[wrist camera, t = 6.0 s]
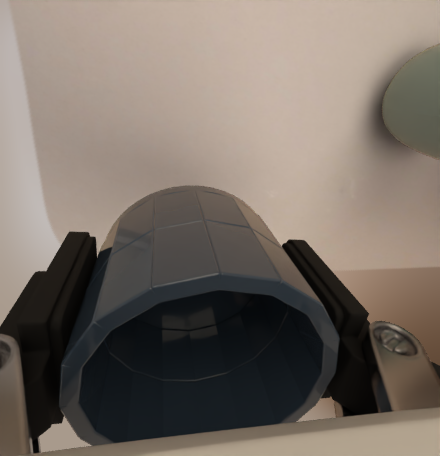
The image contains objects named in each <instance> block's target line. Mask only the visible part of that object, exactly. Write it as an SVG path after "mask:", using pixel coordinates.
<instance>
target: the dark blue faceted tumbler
mask: <svg viewBox="0 0 440 456" xmlns="http://www.w3.org/2000/svg"><path fill="white" fill-rule="evenodd" d="M339 342H340V338H339V334H338V332H337V330H336V328H335V326H334V325H333V323H332V321H331V319H330V317H329V315H328V313H327V311H326V309H325V307H324V305H323V304H322V302H321V301H320V300H319V298H318V297H317V295H316V294H315V293H314V291H313V290H312V288H311V287H310V286H309V284H308V283H307V281H306V280H305V279H304V277H303V276H302V274H301V273H300V272H299V270H298V269H297V267H296V266H295V265H294V263H293V262H292V260H291V259H290V258H289V256H288V255H287V253H286V252H285V251H284V249H283V248H282V246H281V245H280V244H279V242H278V241H277V239H276V238H275V237H274V235H273V234H272V232H271V231H270V230H269V228H268V227H267V225H266V224H265V223H264V221H263V220H262V218H261V217H260V216H259V215H257V214H256V213H255V212H254V210H253V209H252V208H251V207H250V206H248V205H247V204H246V203H245V202H244V201H242V200H241V199H239V198H237V197H236V196H234V195H232V194H229V193H227V192H225V191H222V190H219V189H215V188H211V187H204V186H179V187H172V188H168V189H164V190H160V191H158V192H155V193H153V194H150V195H148V196H146V197H144V198H142V199H141V200H139V201H137V202H136V203H134V204H133V205H132V206H130V207H129V208H128V209H127V210H126V211H125V212H124V213H123V214H122V215H120V217H119V218H118V219H117V220H116V222H115V223H114V224H113V226H112V227H111V229H110V231H109V233H108V235H107V237H106V240H105V242H104V243H103V245H102V246H101V249H100V252H99V255H98V258H97V260H96V263H95V266H94V269H93V272H92V275H91V278H90V281H89V284H88V287H87V290H86V293H85V296H84V299H83V301H82V304H81V307H80V310H79V313H78V316H77V319H76V322H75V325H74V328H73V331H72V334H71V337H70V339H69V342H68V345H67V348H66V351H65V354H64V357H63V360H62V363H61V368H60V383H59V398H58V405H59V408H60V410H61V412H62V413H63V415H64V416H65V418H66V419H67V421H68V422H69V424H70V425H71V427H72V428H73V430H74V431H75V433H76V434H77V436H78V437H79V438H80V439H81V440H83V441H85V442H87V443H88V444H90V445H92V446H96V445H104V444H112V443H121V442H129V441H138V440H146V439H154V438H163V437H171V436H179V435H188V434H196V433H205V432H214V431H222V430H231V429H240V428H249V427H257V426H266V425H275V424H284V423H293V422H296V421H298V420H299V419H300V418H301V417H302V416H303V415H305V414H306V413H307V412H308V411H309V410H310V409H312V408H313V407H314V406H315V405H316V404H317V403H318V401H319V400H320V398H321V396H322V395H323V393H324V391H325V390H326V388H327V387H328V385H329V383H330V382H331V380H332V379H333V377H334V375H335V373H336V370H337V361H338V351H339Z"/></svg>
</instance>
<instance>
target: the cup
mask: <svg viewBox="0 0 440 456" xmlns="http://www.w3.org/2000/svg"><path fill="white" fill-rule="evenodd" d="M382 117H383V121H384V123H385V125H386V127H387V129H388V131H389V132H390V133H391V135H392V136H393V137H394V138H396V139H397V140H398V141H399V142H400V143H402V144H403V145H405V146H407V147H409V148H411V149H413V150H415V151H417V152H419V153H421V154H424V155H426V156H429V157H432V158H434V159H437V160H440V44H437V45H435V46H432V47H430V48H428V49H426V50H424V51H423V52H421V53H419V54H417V55H416V56H414V57H413V58H412V59H411V60H409V61H408V62H407V63H406V64H405V65H404V66H403V67H402V68H401V69H400V70H399V71H398V72H397V73H396V75H395V76H394V77H393V79H392V80H391V82H390V84H389V86H388V87H387V89H386V92H385V94H384V97H383V102H382Z"/></svg>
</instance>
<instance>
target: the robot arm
mask: <svg viewBox="0 0 440 456" xmlns="http://www.w3.org/2000/svg"><path fill="white" fill-rule="evenodd" d="M282 248H283V249H284V251H285V252H286V253H287V255H288V256H289V258H290V259H291V260H292V262H293V263H294V265H295V266H296V267H297V269H298V270H299V272H300V273H301V274H302V276H303V277H304V279H305V280H306V281H307V283H308V284H309V286H310V287H311V288H312V290H313V291H314V293H315V294H316V295H317V297H318V298H319V300H320V301H321V302H322V304H323V305H324V307H325V309H326V311H327V313H328V315H329V317H330V319H331V321H332V323H333V325H334V326H335V328H336V330H337V332H338V334H339V338H340V342H339V351H338V361H337V370H336V373H335V375H334V377H333V379H332V380H331V382H330V383H329V385H328V387H327V388H326V390H325V391H324V393H323V395H322V396H321V398H329V397H330V396H331V397H332V399H333V400H334V401H335V402H334V406H335V414H336V418H329V419H319V420H311V421H302V422H293V423H284V424H275V425H266V426H257V427H249V428H240V429H231V430H222V431H214V432H205V433H196V434H188V435H179V436H171V437H163V438H154V439H146V440H138V441H129V442H121V443H112V444H104V445H96V446H88V447H79V448H71V449H64V450H57V451H49V452H42V453H41V449H40V442H39V436H40V435H41V434H43V433H44V432H45V431H46V430H48V429H49V428H50V427H51V424H59V423H62V421H63V417H64V415H63V413H62V412H61V410H60V408H59V405H58V398H59V383H60V368H61V363H62V360H63V357H64V354H65V351H66V348H67V345H68V342H69V339H70V337H71V334H72V331H73V328H74V325H75V322H76V319H77V316H78V313H79V310H80V307H81V304H82V301H83V299H84V296H85V293H86V290H87V287H88V284H89V281H90V278H91V275H92V272H93V269H94V266H95V263H96V260H97V249H96V238H95V237H90V235H89V232H69V233H68V234H67V236H66V238H65V240H64V241H63V243H62V245H61V247H60V248H59V250H58V252H57V253H56V255H55V257H54V259H53V261H52V262H51V264H50V265H49V267H48V269H47V271H38V272H35V273H34V275H33V276H32V277H31V279H30V280H29V282H28V284H27V285H26V287H25V288H24V290H23V292H22V293H21V295H20V297H19V298H18V299H17V301H16V303H15V304H14V306H13V307H12V309H11V310H10V312H9V314H8V315H7V317H6V319H5V320H4V322H3V323H2V325H1V326H0V456H440V366H439V365H437V364H435V363H433V362H431V361H430V360H429V357H428V356H427V353H426V352H425V349H424V347H423V346H422V344H421V343H420V342H419V340H418V339H417V338H416V337H415V336H413V335H412V334H411V333H410V332H408V331H407V330H405V329H404V328H402V327H400V326H398V325H395V324H392V323H390V322H385V321H375V322H373V323H371V324H370V323H369V321H368V320H367V317H368V315H369V313H368V312H367V311H366V310H365V308H364V307H363V306H362V305H361V304H360V303H359V302H358V300H356V298H355V297H354V296H353V295H352V294H351V293H350V291H349V290H348V289H347V288H346V287H345V286H344V285H343V284H342V282H341V281H340V280H339V279H338V278H337V277H336V275H334V273H333V272H332V271H331V270H330V269H329V268H328V266H327V265H326V264H325V263H324V262H323V261H322V260H321V258H320V257H319V256H318V255H317V254H316V253H315V252H314V250H313V249H312V248H311V247H310V246H309V245H308V244H307V242H306V241H304V240H288V241H287V242H286V243H284V244H283V245H282Z"/></svg>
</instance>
